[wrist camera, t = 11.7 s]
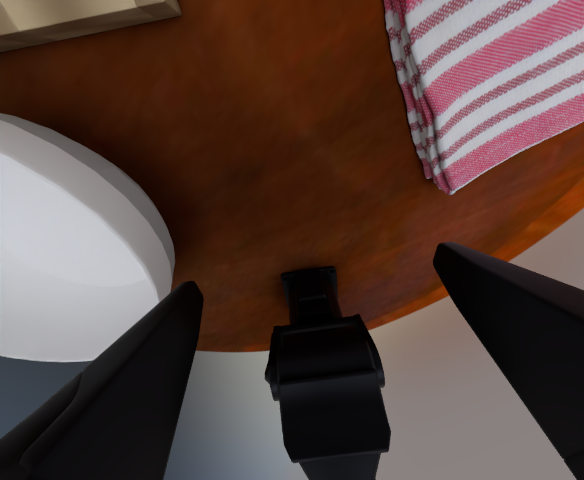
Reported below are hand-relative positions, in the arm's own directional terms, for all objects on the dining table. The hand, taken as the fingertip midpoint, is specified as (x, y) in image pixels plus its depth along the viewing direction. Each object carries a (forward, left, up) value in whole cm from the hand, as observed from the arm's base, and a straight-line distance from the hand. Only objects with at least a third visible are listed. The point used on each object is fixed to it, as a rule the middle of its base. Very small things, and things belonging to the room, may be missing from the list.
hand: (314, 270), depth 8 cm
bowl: (-1, +19, -13) cm, 23 cm away
